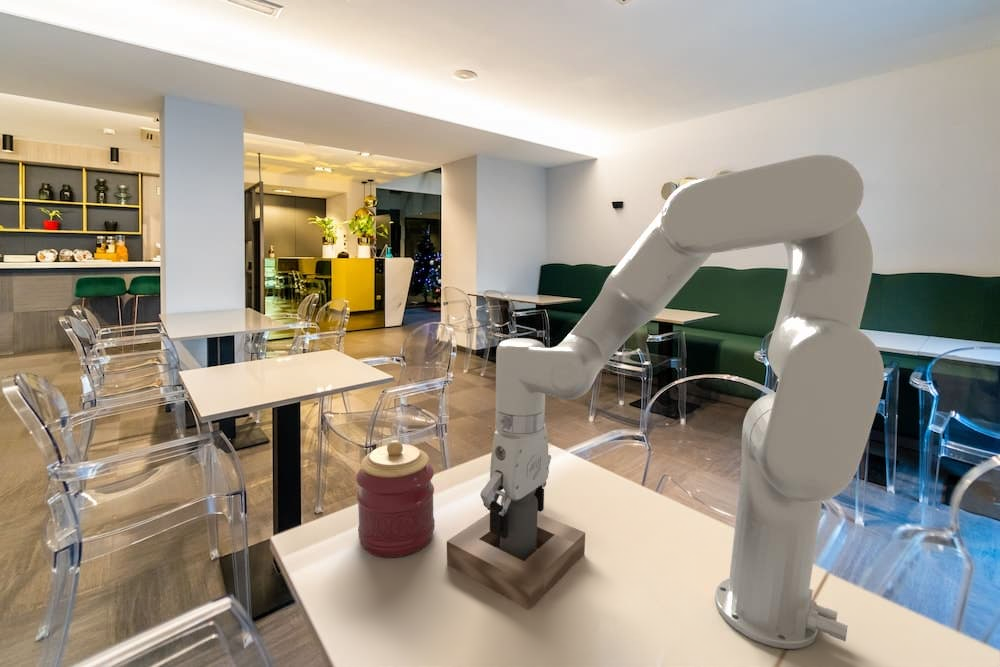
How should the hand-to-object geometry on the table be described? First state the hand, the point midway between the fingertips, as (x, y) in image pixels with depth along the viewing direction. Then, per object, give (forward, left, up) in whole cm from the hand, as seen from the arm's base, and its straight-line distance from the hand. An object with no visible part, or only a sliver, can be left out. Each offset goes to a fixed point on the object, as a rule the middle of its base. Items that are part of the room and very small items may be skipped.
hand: (517, 520), depth 78 cm
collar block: (0, 0, -7) cm, 7 cm away
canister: (+20, +8, -7) cm, 23 cm away
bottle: (0, 0, -7) cm, 7 cm away
